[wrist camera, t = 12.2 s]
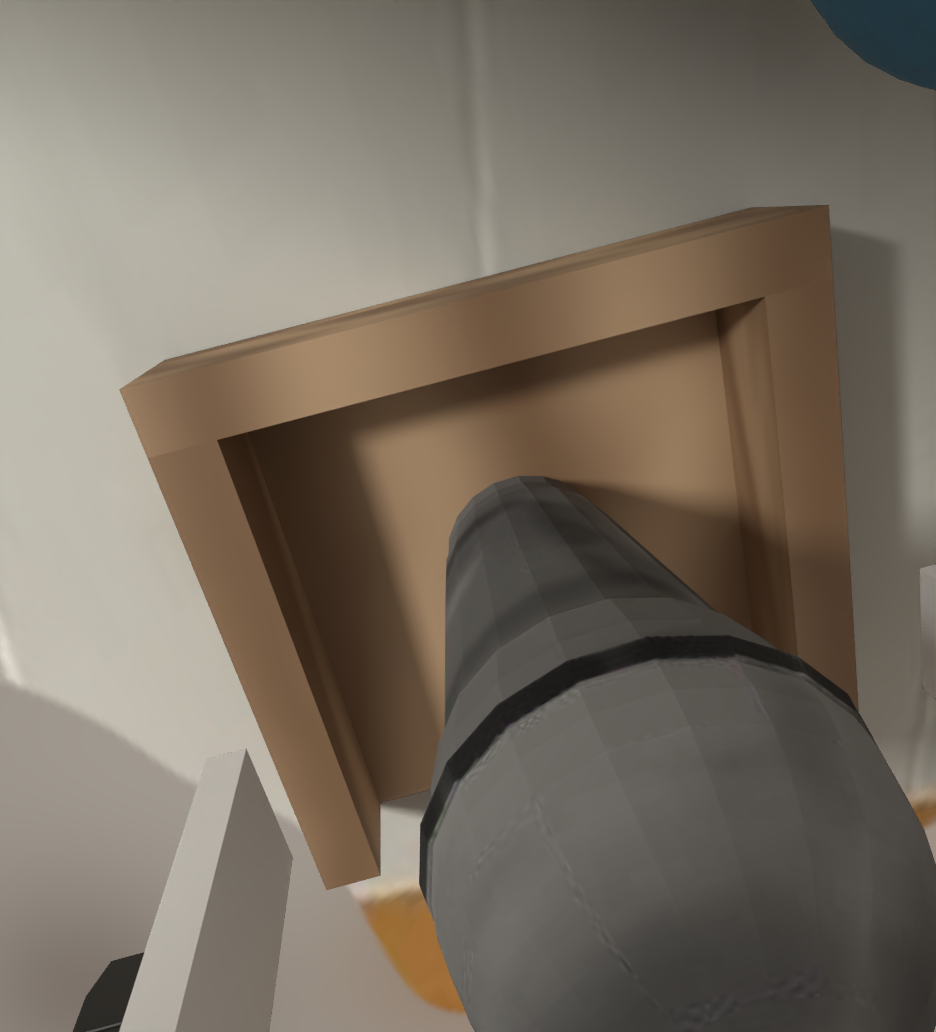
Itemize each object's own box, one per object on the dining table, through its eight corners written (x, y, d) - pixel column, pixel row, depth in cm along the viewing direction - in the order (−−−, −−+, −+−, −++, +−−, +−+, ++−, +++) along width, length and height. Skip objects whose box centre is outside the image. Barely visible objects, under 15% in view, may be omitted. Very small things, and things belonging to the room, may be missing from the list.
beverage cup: (680, 596, 24) (1788, 1976, 5) (464, 695, 24) (751, 2301, 6) (594, 381, 21) (2244, 1616, 2) (353, 497, 21) (182, 2297, 3)
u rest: (333, 798, 26) (326, 889, 22) (164, 359, 20) (119, 389, 17) (795, 675, 26) (860, 746, 23) (751, 207, 21) (828, 204, 17)
